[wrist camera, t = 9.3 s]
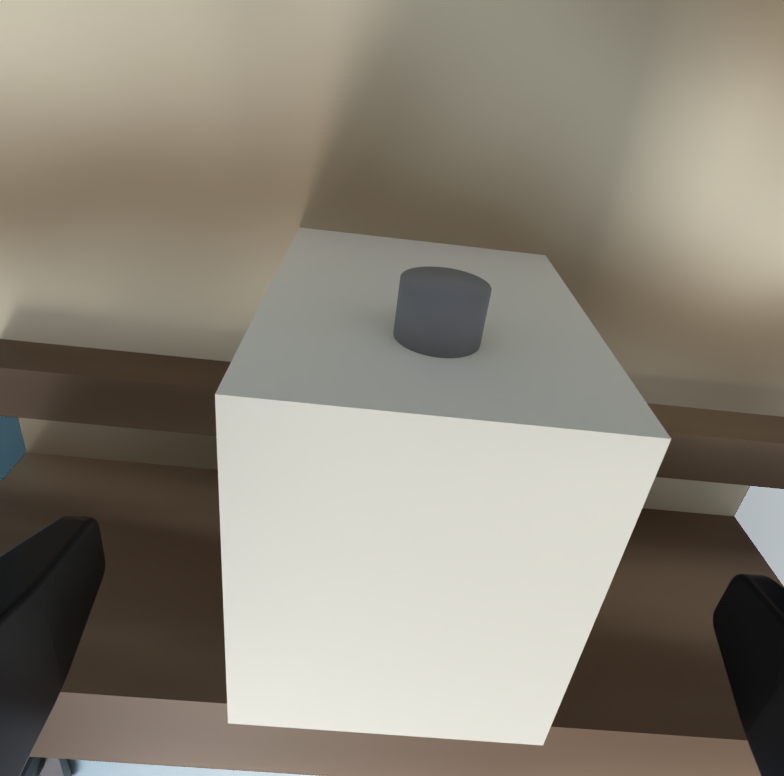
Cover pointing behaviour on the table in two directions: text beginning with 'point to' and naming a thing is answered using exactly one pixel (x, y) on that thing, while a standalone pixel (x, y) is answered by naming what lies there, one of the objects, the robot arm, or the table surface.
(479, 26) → the cleat board
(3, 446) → the table surface
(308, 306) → the white knobbed block
